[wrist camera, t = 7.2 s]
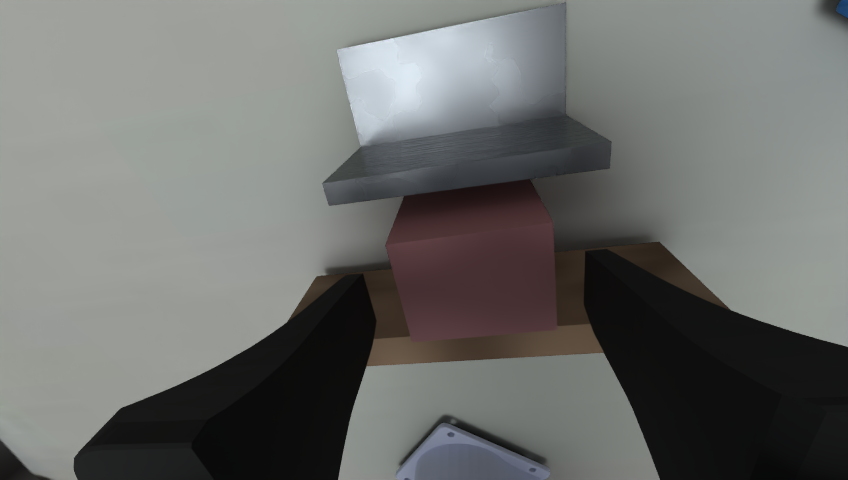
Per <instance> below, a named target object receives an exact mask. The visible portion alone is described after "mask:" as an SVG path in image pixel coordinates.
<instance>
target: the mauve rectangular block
mask: <svg viewBox="0 0 848 480" xmlns="http://www.w3.org/2000/svg"><path fill="white" fill-rule="evenodd" d="M386 249H387V253H388V256H389V260H390V264H391V267H392V271H393V275H394V278H395V282H396V286H397V289H398V293H399V296H400V300H401V304H402V307H403V311H404V315H405V318H406V322H407V326H408V329H409V333H410V337H411V340H412V342H423V341H435V340H447V339H459V338H470V337H482V336H494V335H506V334H518V333H530V332H541V331H553V330H557V307H556V280H555V254H554V228H553V221H552V219H551V217H550V216H549V214H548V212H547V210H546V208H545V206H544V205H543V203H542V201H541V199H540V197H539V195H538V194H537V192H536V190H535V188H534V186H533V184H532V183H531V181H530V179H526V180H518V181H511V182H503V183H496V184H489V185H481V186H474V187H466V188H459V189H451V190H444V191H436V192H429V193H421V194H414V195H406V196H404V199H403V201H402V204H401V206H400V209H399V211H398V214H397V217H396V219H395V222H394V224H393V227H392V229H391V232H390V234H389V237H388V239H387V242H386Z"/></svg>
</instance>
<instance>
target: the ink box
mask: <svg viewBox="0 0 848 480" xmlns="http://www.w3.org/2000/svg"><path fill="white" fill-rule="evenodd" d="M836 11H837V12H838V13H839V14H841V15H843V16H845V17H847V18H848V0H841V1H840V3H839V4H838V6H837V9H836Z"/></svg>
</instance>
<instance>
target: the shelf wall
mask: <svg viewBox="0 0 848 480" xmlns="http://www.w3.org/2000/svg"><path fill="white" fill-rule="evenodd" d="M599 249H608V250H610V251H612V252H614V253H616V254H618V255H619V256H621V257H623V258H625V259H626V260H628V261H630V262H632V263H634V264H635V265H637V266H639V267H641V268H642V269H644V270H646V271H648V272H650V273H652V274H653V275H655V276H657V277H659V278H661V279H663V280H665V281H667V282H669V283H671V284H673V285H675V286H677V287H679V288H681V289H683V290H685V291H687V292H689V293H691V294H693V295H695V296H698V297H700V298H702V299H704V300H707V301H709V302H711V303H714V304H716V305H719V306H721V307H724V308H726V309H729V308H728V307H727V306H726V305H725V304H724V303H723V302H722V301H721V300H720V299H719V298H718V297H716V296H715V295H714V294H713V293H712V292H711V291H710V290H709V289H708V288H707V287H706V286H705V285H704V284H703V283H702V282H701V281H700V280H699V279H698V278H697V277H696V276H694V275H693V274H692V273H691V272H690V271H689V270H688V269H687V268H686V267H685V266H684V265H683V264H682V263H681V262H680V261H679V260H678V259H677V258H676V257H675V256H674V255H672V254H671V253H670V252H669V251H668V250H667V249H666V248H665V247H664V246H663V245H662V244H661V243H660V242H652V243H642V244H632V245H622V246H613V247H603V248H593V249H583V250H573V251H563V252H554V254H555V280H556V307H557V330H553V331H541V332H530V333H518V334H506V335H494V336H482V337H470V338H459V339H447V340H435V341H423V342H412V340H411V337H410V333H409V329H408V326H407V322H406V318H405V315H404V311H403V307H402V304H401V300H400V296H399V293H398V289H397V286H396V282H395V278H394V275H393V271H392V269H385V270H375V271H366V272H356V273H346V274H336V275H326V276H317V277H316V278H315V280H314V281H313V283H312V284H311V286H310V287H309V289H308V291H307V292H306V294H305V295H304V297H303V298H302V300H301V301H300V303H299V304H298V306H297V308H296V309H295V311H294V312H293V314H292V315H291V317H290V318H289V320H291V319H292V318H293V317H294V316H296V315H297V314H298V313H300V312H301V311H302V310H304V309H305V308H306V307H307V306H308V305H310V304H311V303H312V302H313V301H314V300H316V299H317V298H318V297H319V296H320V295H322V294H323V293H324V292H325V291H326V290H328V289H329V288H330V287H331V286H332V285H334V284H335V283H336V282H337V281H338V280H340V279H341V278H342V277H344V276H345V275H351V274H361V273H363V275H364V279H365V282H366V285H367V289H368V292H369V296H370V299H371V303H372V306H373V309H374V313H375V316H376V320H377V322H376V329H375V335H374V341H373V346H372V350H371V353H370V356H369V359H368V363H367V366H378V365H396V364H413V363H431V362H448V361H465V360H483V359H500V358H518V357H535V356H553V355H570V354H588V353H604V352H603V350H602V348H601V346H600V344H599V342H598V340H597V338H596V336H595V334H594V332H593V330H592V327H591V324H590V322H589V319H588V316H587V313H586V310H585V307H584V273H585V251H589V250H599ZM729 310H730V309H729ZM289 320H288V321H289Z"/></svg>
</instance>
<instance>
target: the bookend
mask: <svg viewBox="0 0 848 480" xmlns="http://www.w3.org/2000/svg"><path fill="white" fill-rule="evenodd" d="M337 54H338V58H339V62H340V66H341V70H342V74H343V78H344V82H345V86H346V90H347V94H348V98H349V102H350V106H351V110H352V114H353V118H354V122H355V126H356V130H357V134H358V138H359V142H360V146H361V147H360V148H359V149H358V150H357V151H356V152H355V153H354V154H353V155H352V156H351V157H350V158H349V159H348V160H347V161H346V162H344V163H343V164H342V165H341V166H340V167H339V168H338V169H337V170H336V171H335V172H334V173H333V174H332V175H331V176H330V177H329V178H328V179H326V180H325V181H324V182H323V183H322V185H323V188H324V191H325V194H326V197H327V201H328V204H329V206H332V205H339V204H347V203H354V202H362V201H369V200H376V199H384V198H391V197H399V196H406V195H414V194H421V193H429V192H436V191H444V190H451V189H459V188H466V187H474V186H481V185H489V184H496V183H503V182H511V181H518V180H526V179H533V178H541V177H548V176H556V175H563V174H571V173H578V172H586V171H593V170H601V169H608V168H610V156H611V141H609V140H608V139H606V138H604V137H603V136H601V135H599V134H598V133H596V132H594V131H593V130H591V129H589V128H587V127H586V126H584V125H582V124H581V123H579V122H577V121H576V120H574V119H572V118H571V117H569V116H567V115H566V114H565V107H566V3H561V4H556V5H551V6H546V7H542V8H537V9H532V10H527V11H522V12H517V13H513V14H508V15H503V16H498V17H493V18H488V19H484V20H479V21H474V22H469V23H464V24H459V25H455V26H450V27H445V28H440V29H435V30H430V31H425V32H421V33H416V34H411V35H406V36H401V37H396V38H392V39H387V40H382V41H377V42H372V43H367V44H363V45H358V46H353V47H348V48H343V49H338V50H337Z"/></svg>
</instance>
